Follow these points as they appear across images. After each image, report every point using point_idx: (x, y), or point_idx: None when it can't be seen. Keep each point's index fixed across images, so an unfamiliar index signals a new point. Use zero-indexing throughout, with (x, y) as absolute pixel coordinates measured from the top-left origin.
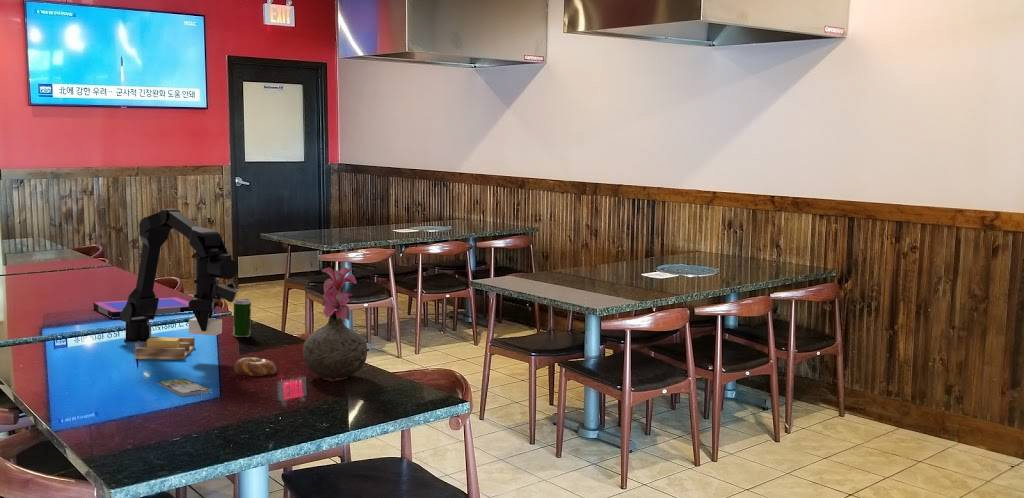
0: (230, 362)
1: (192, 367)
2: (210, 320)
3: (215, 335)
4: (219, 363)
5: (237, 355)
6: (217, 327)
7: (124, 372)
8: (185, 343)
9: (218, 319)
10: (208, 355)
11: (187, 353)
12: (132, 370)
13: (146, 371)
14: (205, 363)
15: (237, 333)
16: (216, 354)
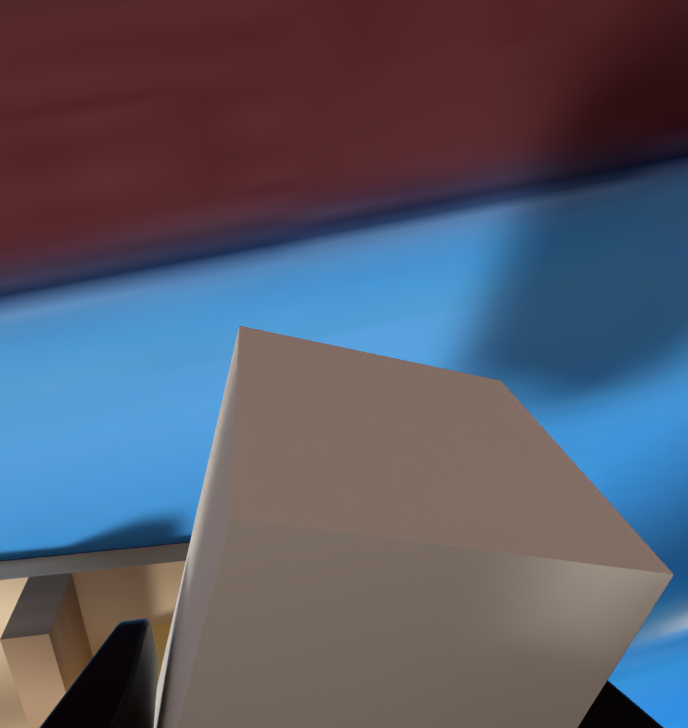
0: (423, 81)
1: (599, 400)
2: (484, 724)
3: (502, 383)
4: (467, 199)
5: (26, 43)
6: (487, 444)
7: (663, 707)
8: (56, 660)
9: (306, 601)
10: (111, 380)
11: (151, 558)
12: (623, 692)
13: (663, 626)
14: (461, 332)
15: None
16: (40, 313)
